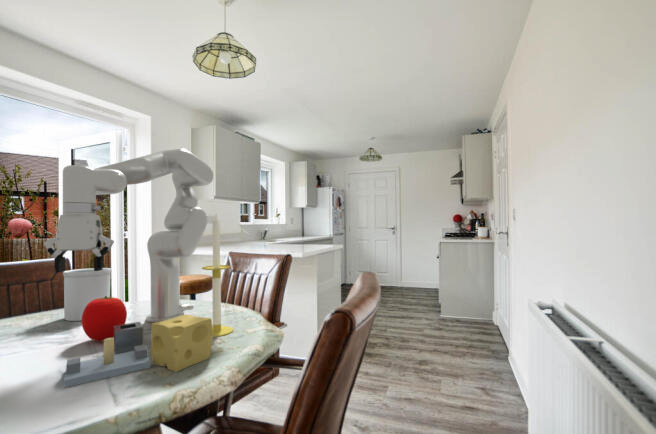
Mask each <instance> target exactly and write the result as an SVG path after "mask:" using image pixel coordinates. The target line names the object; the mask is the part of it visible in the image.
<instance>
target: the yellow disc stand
mask: <svg viewBox="0 0 656 434" xmlns="http://www.w3.org/2000/svg"><path fill="white" fill-rule="evenodd" d="M220 222H221V221H220V220H219V218H218V215H217V214H214V218H213V220H212V265H207V266H202V267H201V269H202V270H204V271H205V270H206V271H212V273H211V274H212V275H211V276H212V280H211V281H212V283H211V284H212V330H213V336H212V338H218V337H223V336H227V335H230V334H231V333H233V332H234V328H233V327H231V326H229V325H222V276H221V275H222V274H221V273H222V270H227V269H230V268H231V265H226V264H225V265H224V264H221V233H220V232H221V231H220V229H221V227H220V225H221V224H220Z"/></svg>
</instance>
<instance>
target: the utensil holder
mask: <svg viewBox="0 0 656 434" xmlns="http://www.w3.org/2000/svg"><path fill="white" fill-rule="evenodd" d="M111 273H112V268H110V267H103V268H102V270H100V271H94V267H93V268H90V267H89V268H79V269H78V268H77V269H70V270H65V271H63V272H62V275H63V284H64V285H63V291H64V292H63V294H64V295H63V296H64V297H63V299H64V301H63V311H64V320H65V321H69V322H82V315H83V312H84V309H85V307H86V306H87V304H88V303H89V302H91V301H92V300H94V299H99V298H104V297H105V296H107V297H110V298H111Z"/></svg>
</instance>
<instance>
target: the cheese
mask: <svg viewBox="0 0 656 434" xmlns="http://www.w3.org/2000/svg"><path fill="white" fill-rule="evenodd" d="M212 327H213V319H212V318H211V317H200V316H194V315H190V314H184V315H182V316H179V317H175V318H172V319H168V320H165V321H160V322H152V323H151V362H152V364H154V365H157V366H161V367H167V369H168V370H171V372H174V373H177V372H180V371H182V370H184V369H186V368H188V367H191V366H193V365H195V364H198V363H200V362H203V361H206V360H209V359H210V358H211V353H212V352H211V351H212V345H213V337H212V336H213V330H212Z"/></svg>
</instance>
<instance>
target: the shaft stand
mask: <svg viewBox="0 0 656 434" xmlns="http://www.w3.org/2000/svg"><path fill="white" fill-rule="evenodd" d="M65 367H66V368H65V374H64V379H63V380H64V383H63V384H64V385H63V387H64V388H68V387H73V386H77V385H81V384H85V383H89V382H93V381H98V380H102V379H106V378H112V377H116V376H119V375H123V374H128V373H132V372H137V371H141V370H145V369H149V368H151V360H150V357H149V355H148V347H147V345H146V344H143V345H140V346H135V347H134V351H131V352H126V353H121V354H116V355H115V351H114V337H113V338H107V339H104V341H103V356H102V357H97V358H92V359H87V360H81V356H80V357H75V358H68V359H67V360H66V366H65Z"/></svg>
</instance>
